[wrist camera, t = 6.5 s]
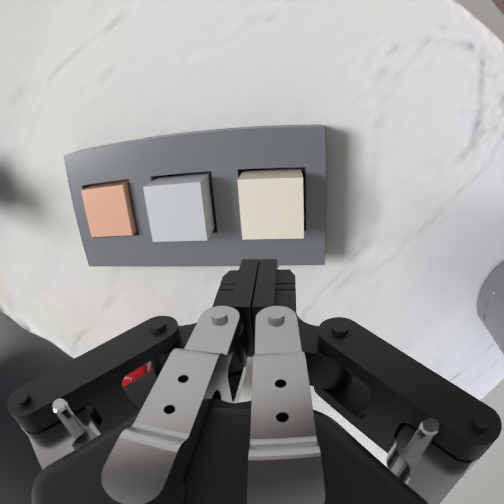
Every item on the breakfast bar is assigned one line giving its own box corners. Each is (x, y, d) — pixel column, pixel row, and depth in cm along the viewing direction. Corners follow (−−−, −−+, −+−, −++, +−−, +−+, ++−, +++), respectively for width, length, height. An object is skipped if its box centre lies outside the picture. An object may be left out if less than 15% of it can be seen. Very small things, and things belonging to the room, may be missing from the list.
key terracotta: (138, 176, 26) (122, 184, 24) (146, 222, 28) (132, 235, 26) (98, 181, 27) (81, 190, 24) (107, 224, 29) (91, 237, 26)
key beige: (300, 169, 23) (303, 177, 21) (302, 223, 25) (303, 238, 23) (242, 171, 24) (237, 179, 21) (247, 224, 26) (242, 239, 23)
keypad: (321, 124, 23) (324, 126, 21) (321, 251, 28) (324, 264, 26) (79, 150, 26) (63, 155, 24) (101, 254, 31) (89, 266, 28)
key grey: (209, 173, 24) (200, 182, 22) (215, 225, 26) (207, 240, 23) (157, 177, 25) (143, 186, 22) (165, 227, 27) (153, 242, 24)
